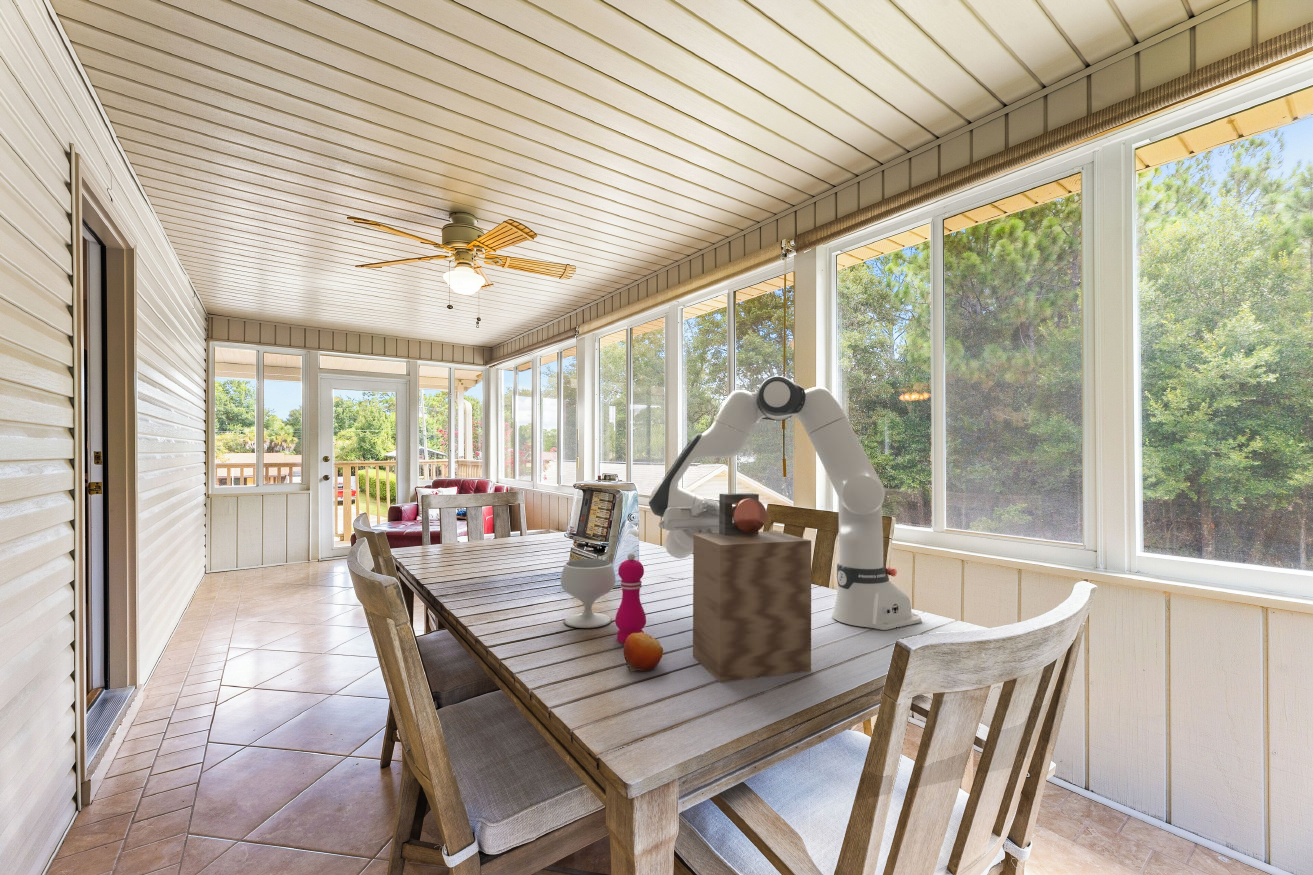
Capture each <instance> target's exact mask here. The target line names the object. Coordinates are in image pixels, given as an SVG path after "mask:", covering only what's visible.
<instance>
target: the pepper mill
mask: <svg viewBox="0 0 1313 875" xmlns="http://www.w3.org/2000/svg"><path fill="white" fill-rule="evenodd" d="M617 572H618V576H619V578H620V579H621V580H620V582H619V583H620V586H619V587H620V588H621V589H622V590H621V592H622V595H621V596H622V597H621V602H620V604H619V607H618V609H617V612H616V614H615V618H614V623H615V626H616V627H617V629H618V630H617V632H616V638H617V639H616V640H617V641H618V642H619V643H621V644H625V641H626V639H627V637H628V636H629V635H630V634H632V633H640V632H643V633H645V632H644V630H643V629H644V627H645V626H646V624H647V615H646V612H645V610H644V607H643V606H642V603H641V602H642V601H641V598H640V592H641V588H642V586H643V585H642V581H643V580H642V577H643V576H644V574H645V568H644V565H643V564H642V562H641V561H640V560H637V559H636V555H635V554H634V553H632V552H630V553H628V555H627V559H626V560H624V561H622V562H621V563H620V564H619V566H618V570H617Z"/></svg>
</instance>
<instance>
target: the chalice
mask: <svg viewBox="0 0 1313 875" xmlns="http://www.w3.org/2000/svg"><path fill="white" fill-rule="evenodd" d="M616 580H617V579H616V572H615V569H614V566H613V563H612V562H611V561H609V560H607V559H602V558H601V559H600V558H578V559H573V560H569V561H567V562H566V563H565V564H564V566H563V569H562V571H561V575H560V585H561V587H562V590H563V591H564V592H565V593H566V594H568V595H570V596H572V597H574V598H576V599H578V600H579V601H580V602H581V603H582V605H583V607H584V608H583V609H584V610H583V612H582V613H575V614H571V615H568V616H567V617H565V618H564V619H563V623H564V624H565V625H567V626H569V627H571V628H572V627H574V628H580V629H590V628H591V629H594V628H599V627H603V626H606V625H609V624H610V623H611V622H612V618H611V616H609V615H607V614H604V613H598V612H593V609H592V607H593V606H594V605H593V604H594V603H595V602H596V601H597V600H598V599H600V598H601V597H603V596H605V595H606V594H608V593H610V592H611V591H612V590H613V589H614V586H615V585H616V582H617V581H616Z"/></svg>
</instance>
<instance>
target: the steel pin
mask: <svg viewBox="0 0 1313 875" xmlns="http://www.w3.org/2000/svg"><path fill="white" fill-rule="evenodd" d="M701 502H707V506H708V508H707V509H706V511H708V512H711V513H715V514H719V500H714V499H709V498H706V499H703V500H701ZM732 518H733V520H734V523H735V525H736V526H737V528H739V529H740V530H742V531H745V532H748V533H754V532H757V531H759V532H760V530H761V529H762V528H763V527H764V525H765V524H766V521H767V510H766V507H765V505H764V504H763V503H762V502H761V501H760V500H759V501H758V500H755V499H749V498H747V499H743V500H741V501H740V502H738V503H736V504H734V503H732Z"/></svg>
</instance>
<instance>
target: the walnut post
mask: <svg viewBox="0 0 1313 875" xmlns="http://www.w3.org/2000/svg"><path fill="white" fill-rule="evenodd" d="M759 496H760V494H758V493H753V492H752V493H751V492H750V493H749V492H747V493H719V496H718V497H719V498H718V501H719V533H714V534H694V539H693V553H692V554H693V558H692V559H693V561H692V562H693V565H692V567H693V568H692V570H693V571H692V577H693V578H692V579H693V580H692V582H693V583H692V584H693V585H692V589H693V590H692V594H693V595H692V658H693V659H695V660H696V661H697V662H698V663H699V664H700V665H701V666H702V667H703V668H704V669H705V670H706V671H707V672H709V674H711V676H713V677H714V678H715V680H717V681H718V683H726V682H734V681H742V680H749V679H756V678H757V679H758V678H765V677H772V676H780V675H788V674H795V673H805V672H811V671H812V540H811V539H808V538H807V539H806V538H803V537H799V536H795V535H792V534H789V533H785V532H782V531H777V530H771V531H768V530H767V531H766V530H764V531H760V530H759V531H757V532H754V533H748V532H745V531H742V530H740V529H739V528H737V526H736V525H735V523H732V504H737V503H738V502H740V501H741V500H743V499H747V498H749V499H755V500H758V501H760V500H759V498H760V497H759Z"/></svg>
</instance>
